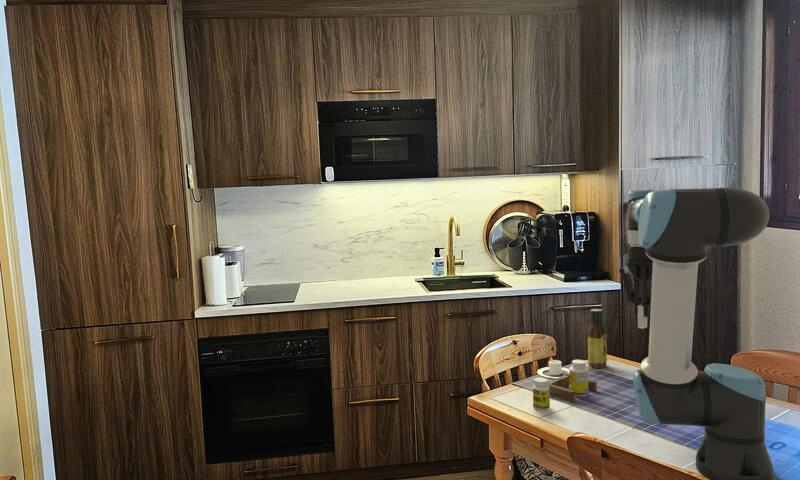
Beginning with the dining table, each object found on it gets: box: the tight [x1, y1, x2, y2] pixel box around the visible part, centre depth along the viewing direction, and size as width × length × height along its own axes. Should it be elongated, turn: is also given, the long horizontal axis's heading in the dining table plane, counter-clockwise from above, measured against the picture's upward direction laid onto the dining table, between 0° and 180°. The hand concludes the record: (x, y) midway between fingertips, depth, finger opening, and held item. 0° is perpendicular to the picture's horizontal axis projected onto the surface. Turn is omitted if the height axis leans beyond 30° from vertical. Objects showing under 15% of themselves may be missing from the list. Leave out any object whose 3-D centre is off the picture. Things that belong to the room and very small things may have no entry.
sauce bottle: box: [587, 308, 608, 369], centre depth 211 cm, size 7×6×20 cm
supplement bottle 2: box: [568, 359, 589, 397], centre depth 186 cm, size 6×6×10 cm
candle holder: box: [536, 359, 569, 379], centre depth 206 cm, size 12×12×4 cm
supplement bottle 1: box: [532, 377, 551, 411], centre depth 176 cm, size 5×5×8 cm
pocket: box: [548, 373, 598, 403], centre depth 188 cm, size 13×10×3 cm
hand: (642, 327), depth 173 cm, fingers closed
